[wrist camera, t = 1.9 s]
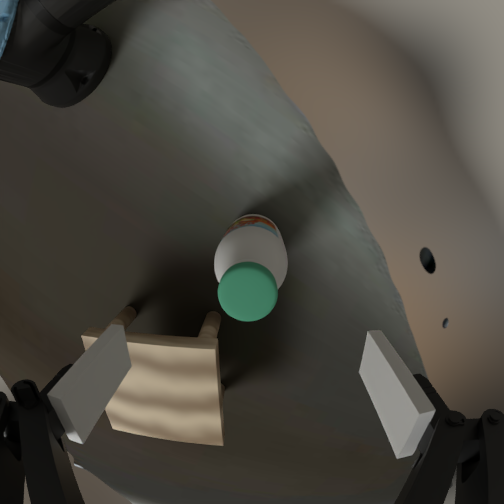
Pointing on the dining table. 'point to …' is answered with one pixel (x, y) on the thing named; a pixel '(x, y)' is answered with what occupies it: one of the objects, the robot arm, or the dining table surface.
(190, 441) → the oak footstool
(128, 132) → the dining table surface
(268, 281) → the milk bottle
